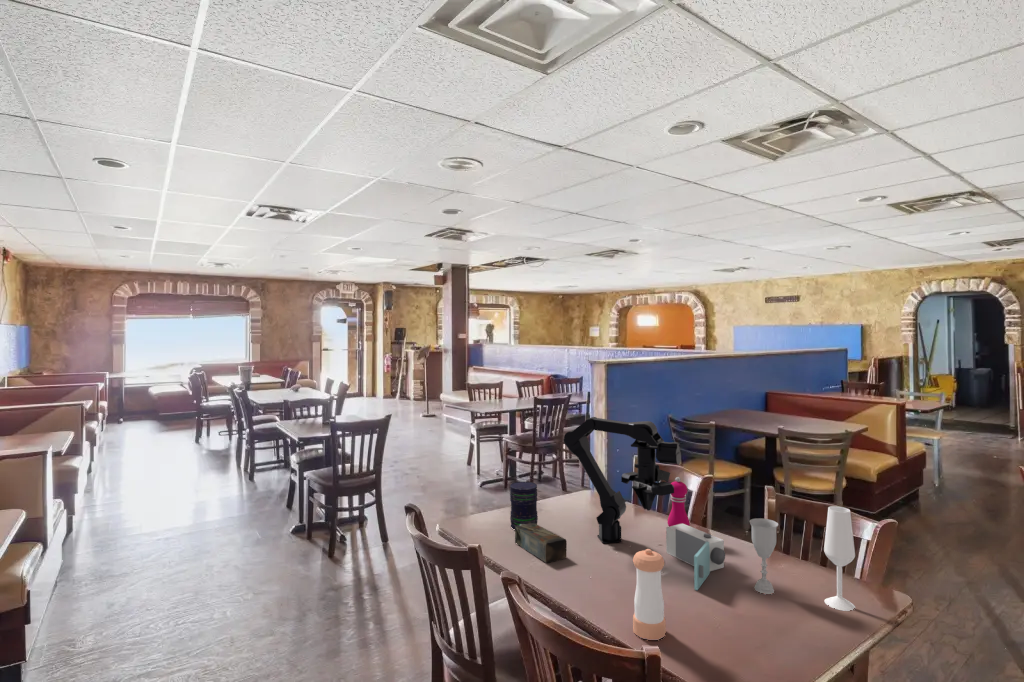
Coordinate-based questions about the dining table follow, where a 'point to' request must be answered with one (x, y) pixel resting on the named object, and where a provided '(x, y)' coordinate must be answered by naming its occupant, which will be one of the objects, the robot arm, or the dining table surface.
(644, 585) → the salt shaker
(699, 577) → the hatch
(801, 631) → the dining table surface
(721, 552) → the case
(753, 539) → the chalice
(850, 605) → the champagne flute
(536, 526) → the beverage carton
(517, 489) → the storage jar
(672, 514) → the pepper mill
